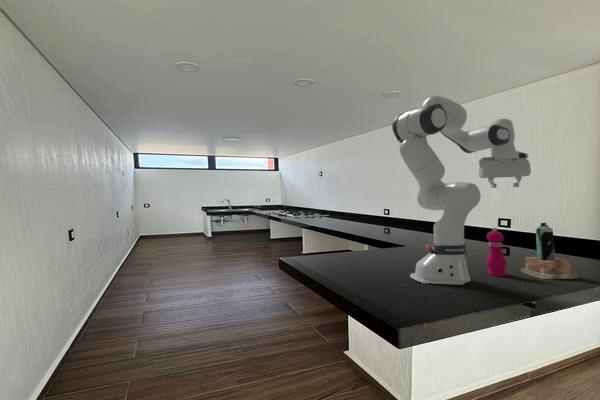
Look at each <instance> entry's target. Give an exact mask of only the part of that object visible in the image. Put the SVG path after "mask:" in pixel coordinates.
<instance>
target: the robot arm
mask: <svg viewBox="0 0 600 400" xmlns="http://www.w3.org/2000/svg"><path fill="white" fill-rule="evenodd" d="M420 106H421V107H417V108H413V109H411V110H407V111H406V112H404V113H403V112H402V113H401V114H399V115H398V116H396V117H395V118H394V120H393V121H392V131H393V134H394V136H395V138H396V140H397V142H399V143H400V145H399V152H400V156H401V158H402V160H403V161H404V163H405V165H406V167H407V168H408V170H409V171H410V173H411V174H412V176H413V177H414V178H415V180H416V181H417V183H418V186H419V190H418V192H417V196H416V197H417V199H416V200H417V203H418V205H419V206H420V207H421V208H423V209H426V210H430V211H443V214H442V217H441V218H440V219H439V220H437V221H436V222H435V223H434V224H433V226H432V227H433V228H432V229H433V243H432V244H426V245H425V248H426V250H429V253H427V254H426V255H425V256H424V257H422V258H420V259H419V260H418V261H417V262H416V265H415V272H412V273H410V274H409V278H410V277H411V278H412V279H414V280H416V281H418V282H417V283H419V282H421V283H420V284H429V283H431V284H432V285H434V284H435V285H460V286H462V285H465V283H469V282H471V277H470V275H469V274H470V273H469V271H468V270H469V269H468V267H467V266H468V265H467V260H466V258H467V248H466V244H465V224H466V220H467V218H468V215H469V214H470V213H471V211H472V210H473V209H475V208H476V207H477V206H478V204H479V203H480V202H481V190H480V188H479V187H478V186H477V185H476V184H475V183H472V182H464V181H457V182H447V183H445V182H443V181H442V179H443V177H444V176H445V172H446V168H445V166H444V164H443V162H442V161H441V159H439V157H438V155H437V154H436V152H435V151H434V149H433V148H432V147H431V146H430V145H429V143H428V139H427V137H428V136H430V135H435V134H438V133H439V132H440V134H441V135H443V136H444V137H445V138H446V139H448V140H450V141H451V142H453V143H454V144H455V145H457V146H458V147H459V148H460V150H461V151H463V153H466V154H472V153H476V152H478V151H483V150H484V151H485V150H488V149H491V150H490V151H491V156H487V157H485V156H484V157H482V158H479V160H478V161H479V162H478V164H479V167H478V168H479V169H478V176H479V177H480V179H487V181H488V183H489V184H490V188H491V189H496V188H497V185H498V184H497V183H495V181H494V180H495V178H496V179H497V178H514V179H515V182H513V183H512V185H513V186H512V187H513V188H519V187H520V182H521V180H523V179H522V178H523V177H529V176H530V175H531V172H532V170H531V168H532V167H531V162H530V161H529V159H528V158H529V154H528V153H526V152H523V151H519V150H516V146H515V139H516V138H515V135H516V134H515V129H514V125H513V122H512V120H511V119H508V118H500V119H498V118H497V119H494V120H493V121H492V122H491V124H488V125H486V126H483V127H480V128H476V129H474V130H468V131H464V130H463V129H462V128H464V126H465V124H466V122H467V116H468V115H467V111H466V110H467V109H466V108H464V106H462V105H461V104H459V103H457V102H455V101H453V100H451V99H449V98H448V97H447V98H446V97H443V96H440V95H431V96H428V97H427V98H426V99H425V100H424V101H423V103H422V105H420ZM411 278H410V279H411ZM412 279H411V280H412ZM414 280H413V281H414ZM416 281H415V282H416Z"/></svg>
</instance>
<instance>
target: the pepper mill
mask: <svg viewBox="0 0 600 400" xmlns="http://www.w3.org/2000/svg"><path fill="white" fill-rule="evenodd" d="M504 238H505V237H504V235H503V233H502V232H501V231H498V228H497V227H494V226H493V227H492V231H489V232H487V234H486V240H487V241H488V247H489V255H488V256H487V258H486V266H487V267H488V270H487V272H488V275H490V276H495V277H505V276H506V275H507V271H506V270H505V269H507V266H508V265H507V260H506V259H505V257H504V254H503V250H502V247H503V241H504V240H505V239H504Z"/></svg>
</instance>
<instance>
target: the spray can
mask: <svg viewBox="0 0 600 400" xmlns="http://www.w3.org/2000/svg"><path fill="white" fill-rule="evenodd" d="M535 229H536V230H535V236H536V237H535V239H536V253H537V254H536V255H537V256H536V257H538V259H539V260H543V261H555V258H556V255H555V254H556V253H555V240H554V230H553V228H552V227H550V226H549V225H548V224H547V222H541V223H540V225H539V226H538V227H536V228H535Z"/></svg>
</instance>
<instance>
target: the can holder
mask: <svg viewBox="0 0 600 400" xmlns="http://www.w3.org/2000/svg"><path fill="white" fill-rule="evenodd" d="M524 260H525V261H524V263H525V267H523V268H520V272H521V273H524V274H527V275H528V276H529V275H530V276H533V277H536V278H540V279H543V280H557V279H558V280H560V279H563V280H564V279H565V280H566V279H570V280H572V279H579V277H580V276H579V274H577V273H574V272H573V265H572V260H567V259H563V258H559V257H555V261H543V260H539V259H538V256H530V257H529V256H527V257H524Z"/></svg>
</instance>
